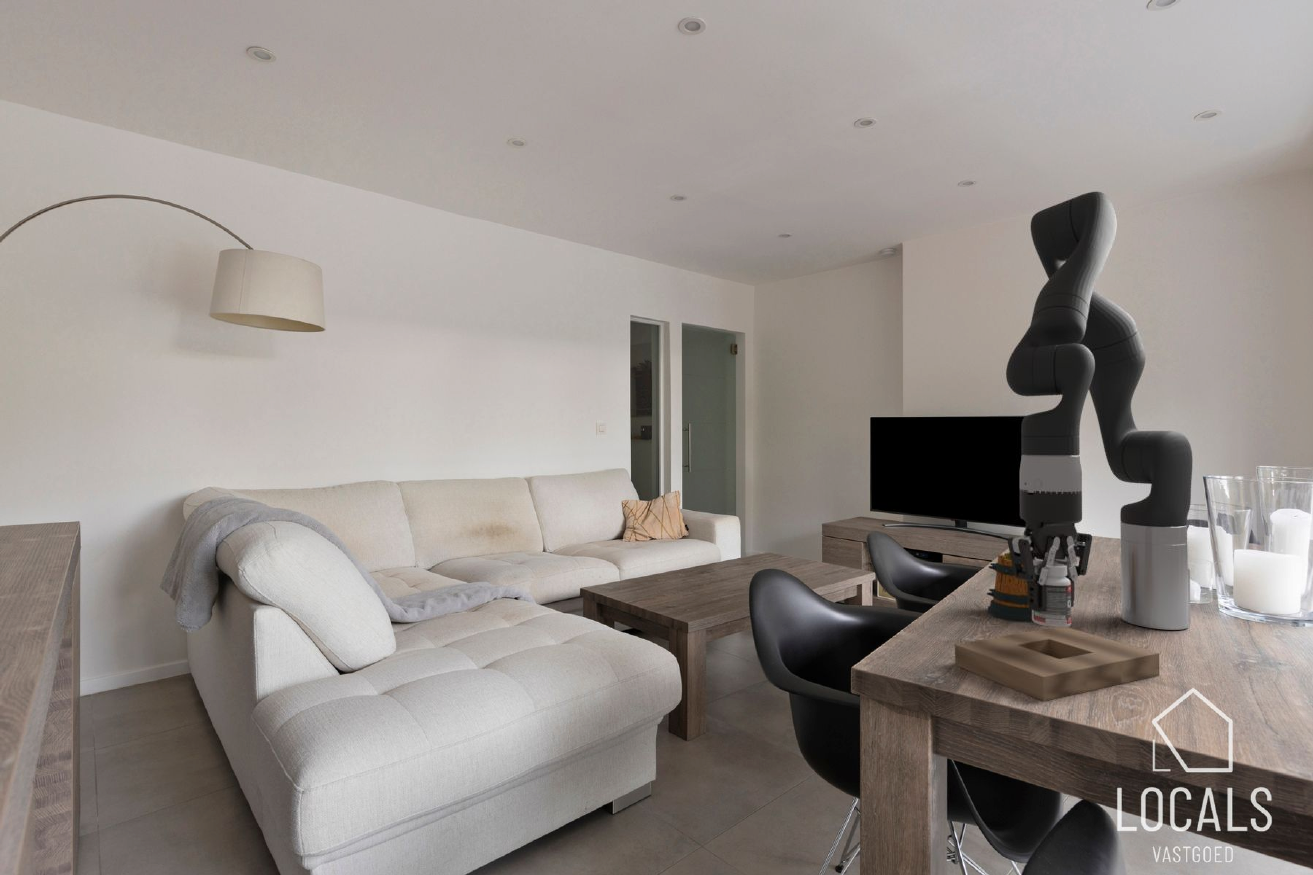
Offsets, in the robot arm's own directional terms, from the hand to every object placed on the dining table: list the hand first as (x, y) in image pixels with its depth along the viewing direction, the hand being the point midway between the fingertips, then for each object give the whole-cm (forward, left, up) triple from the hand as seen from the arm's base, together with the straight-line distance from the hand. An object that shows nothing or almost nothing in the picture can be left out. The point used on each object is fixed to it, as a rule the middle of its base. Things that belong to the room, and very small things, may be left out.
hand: (1050, 607), depth 92 cm
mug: (-20, -21, -9) cm, 30 cm away
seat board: (0, 0, -9) cm, 9 cm away
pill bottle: (0, 0, -2) cm, 2 cm away
